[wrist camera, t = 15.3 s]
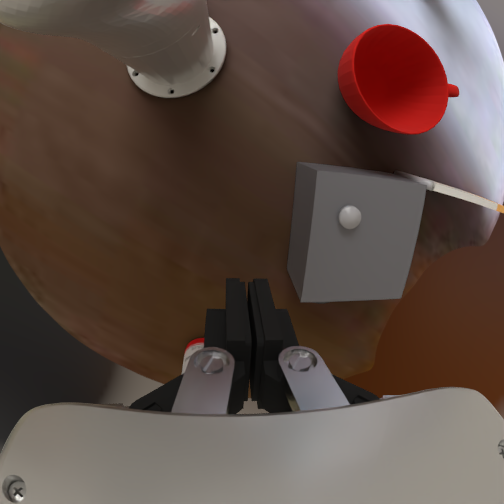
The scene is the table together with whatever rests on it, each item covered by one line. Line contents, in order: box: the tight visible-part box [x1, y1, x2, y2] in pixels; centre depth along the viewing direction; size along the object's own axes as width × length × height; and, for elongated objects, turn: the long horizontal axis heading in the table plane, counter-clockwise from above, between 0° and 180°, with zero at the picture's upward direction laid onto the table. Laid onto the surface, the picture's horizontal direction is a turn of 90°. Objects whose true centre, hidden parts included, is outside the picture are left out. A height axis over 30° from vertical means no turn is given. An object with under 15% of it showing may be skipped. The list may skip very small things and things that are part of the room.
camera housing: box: [287, 162, 427, 303], centre depth 36 cm, size 16×14×10 cm
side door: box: [394, 170, 504, 213], centre depth 35 cm, size 22×1×8 cm, turn 83°
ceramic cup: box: [338, 24, 459, 135], centre depth 28 cm, size 13×17×10 cm
